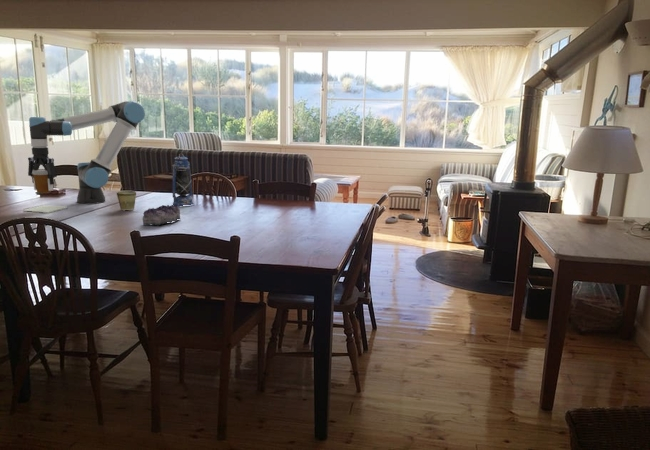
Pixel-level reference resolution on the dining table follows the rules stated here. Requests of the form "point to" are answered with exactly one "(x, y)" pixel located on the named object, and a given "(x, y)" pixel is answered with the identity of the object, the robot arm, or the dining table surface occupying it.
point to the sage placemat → (46, 208)
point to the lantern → (182, 181)
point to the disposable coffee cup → (41, 180)
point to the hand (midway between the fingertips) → (43, 189)
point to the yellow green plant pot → (126, 199)
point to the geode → (161, 215)
